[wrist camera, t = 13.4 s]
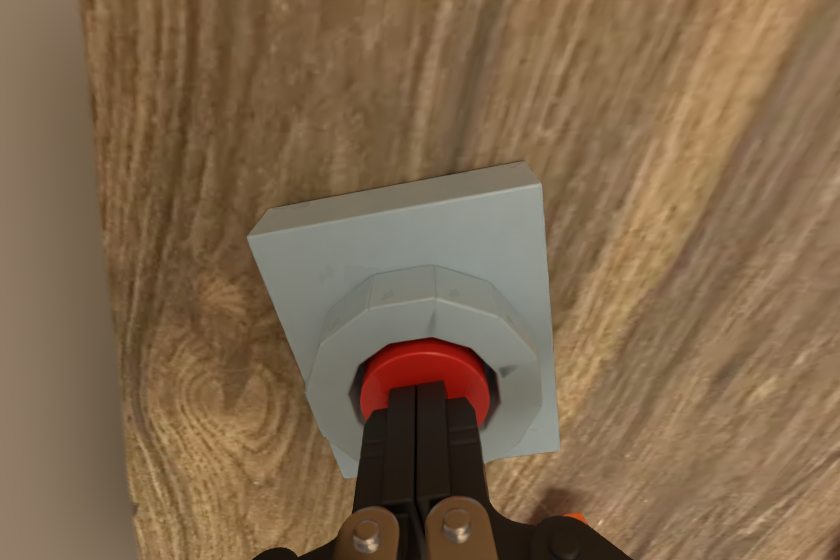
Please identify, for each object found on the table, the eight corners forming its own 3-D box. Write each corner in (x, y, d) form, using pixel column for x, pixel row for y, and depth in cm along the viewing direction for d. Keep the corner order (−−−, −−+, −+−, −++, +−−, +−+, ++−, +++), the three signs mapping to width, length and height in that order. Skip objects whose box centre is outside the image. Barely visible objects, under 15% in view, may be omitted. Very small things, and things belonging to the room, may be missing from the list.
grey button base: (267, 208, 15) (219, 268, 11) (525, 159, 14) (560, 208, 11) (350, 434, 20) (335, 526, 16) (546, 407, 19) (575, 496, 15)
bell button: (352, 325, 14) (344, 364, 12) (474, 306, 14) (481, 342, 12) (380, 414, 16) (376, 457, 14) (489, 398, 15) (497, 441, 14)
